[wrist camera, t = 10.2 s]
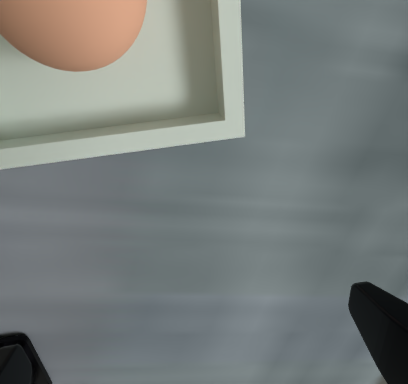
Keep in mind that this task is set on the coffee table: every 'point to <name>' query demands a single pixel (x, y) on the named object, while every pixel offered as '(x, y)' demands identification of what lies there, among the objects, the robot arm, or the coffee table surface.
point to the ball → (72, 30)
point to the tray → (130, 90)
